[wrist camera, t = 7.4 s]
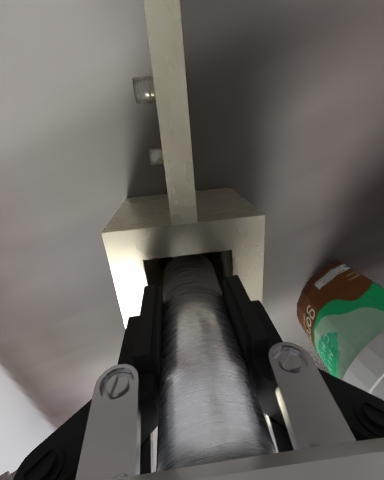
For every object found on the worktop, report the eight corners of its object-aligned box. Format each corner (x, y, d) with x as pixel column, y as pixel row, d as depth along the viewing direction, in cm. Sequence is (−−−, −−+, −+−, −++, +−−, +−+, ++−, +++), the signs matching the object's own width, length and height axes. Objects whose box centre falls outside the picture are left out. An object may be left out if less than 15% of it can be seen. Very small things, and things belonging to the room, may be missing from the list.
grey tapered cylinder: (152, 249, 14) (44, 968, 2) (219, 241, 14) (515, 850, 2) (161, 303, 15) (135, 893, 3) (221, 296, 15) (398, 827, 3)
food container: (267, 276, 21) (344, 382, 12) (334, 246, 20) (469, 333, 11) (302, 362, 26) (376, 486, 17) (357, 340, 25) (465, 456, 16)
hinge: (100, 64, 14) (43, 3, 8) (227, 54, 14) (273, -12, 8) (157, 354, 23) (152, 436, 17) (233, 344, 24) (257, 420, 17)
